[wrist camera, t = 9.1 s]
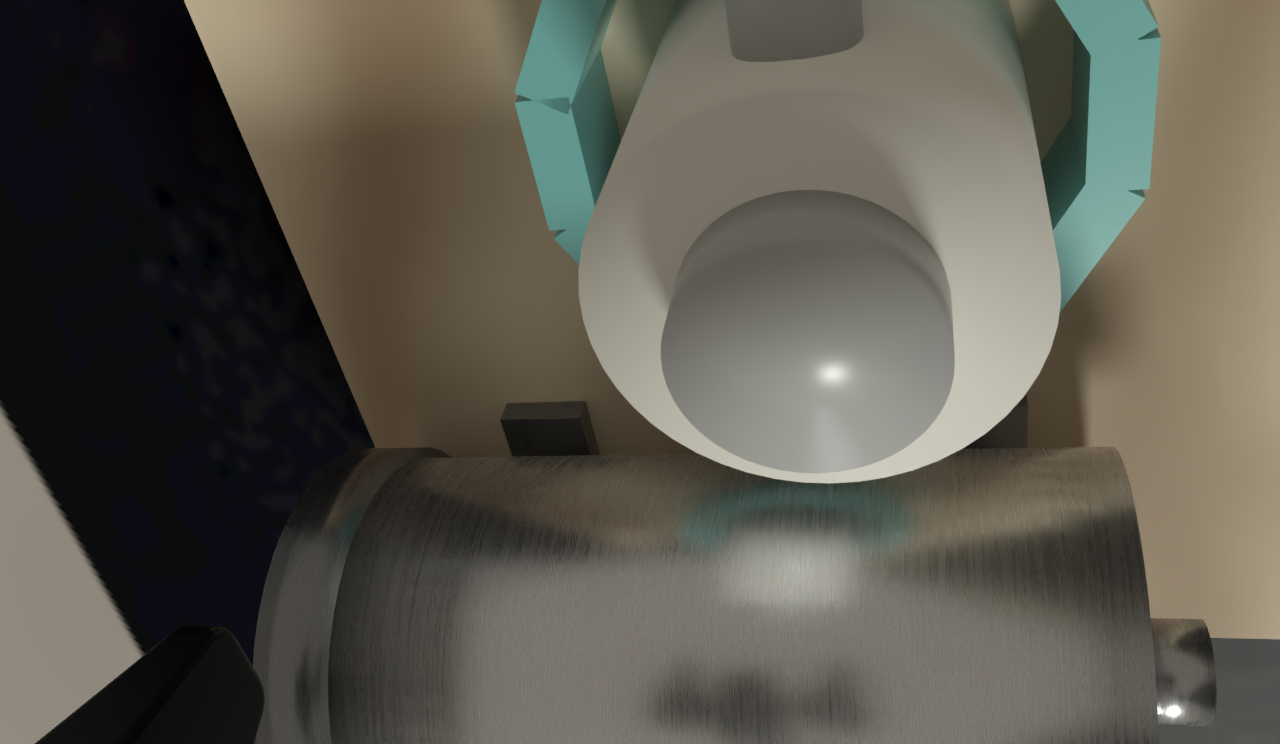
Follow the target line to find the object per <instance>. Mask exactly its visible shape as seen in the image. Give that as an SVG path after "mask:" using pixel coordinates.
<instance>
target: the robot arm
mask: <svg viewBox="0 0 1280 744" xmlns="http://www.w3.org/2000/svg"><path fill="white" fill-rule="evenodd" d="M264 704H265V694H264V688H263V684H262V682H261V680H260V678H259V676H258V674H257V673H256V671H255V670H254V668H253V666H252V665H251V663H250V661H249V660H248V658H247V656H246V655H245V653H244V651H243V650H242V648H241V646H240V645H239V643H238V641H237V640H236V638H235V636H234V635H233V634H232V633H231V632H230V631H229V630H228V629H226V628H224V627H219V626H186V627H182V628H180V629H178V630H176V631H174V632H173V633H171V634H170V635H169V636H167V637H166V638H165V639H164V640H162V641H161V642H160V643H159V644H158V645H156V646H155V647H154V648H153V649H151V650H150V651H149V652H148V653H146V654H145V655H144V656H143V657H141V658H140V659H139V660H138V661H137V662H135V663H134V664H133V665H132V666H130V667H129V668H128V669H127V670H125V671H124V672H123V673H122V674H120V675H119V676H118V677H117V678H115V679H114V680H113V681H112V682H111V683H109V684H108V685H107V686H106V687H104V688H103V689H102V690H101V691H99V692H98V693H97V694H96V695H94V696H93V697H92V698H91V699H90V700H88V701H87V702H86V703H85V704H83V705H82V706H81V707H80V708H79V709H77V710H76V711H75V712H74V713H72V714H71V715H70V716H68V717H67V718H66V719H65V720H64V721H62V722H61V723H60V724H59V725H57V726H56V727H55V728H54V729H52V730H51V731H50V732H49V733H47V734H46V735H45V736H44V737H42V738H41V739H40V740H39V741H38V742H36V743H35V744H255V742H256V738H257V734H258V731H259V727H260V723H261V720H262V716H263V711H264Z"/></svg>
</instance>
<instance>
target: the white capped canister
mask: <svg viewBox="0 0 1280 744" xmlns="http://www.w3.org/2000/svg"><path fill="white" fill-rule="evenodd" d="M578 282H579V300H580V306H581V311H582V317H583V322H584V325H585V328H586V331H587V334H588V337H589V340H590V343H591V345H592V347H593V349H594V351H595V353H596V355H597V357H598V359H599V361H600V363H601V365H602V367H603V369H604V370H605V372H606V373H607V375H608V376H609V378H610V379H611V381H612V382H613V384H614V385H615V387H616V388H617V389H618V390H619V391H620V392H621V394H622V395H623V396H624V397H625V398H626V399H627V401H628V402H629V403H630V404H631V405H632V406H633V407H634V408H635V409H636V410H637V411H638V412H639V413H640V414H641V415H643V416H644V417H645V418H646V419H647V420H648V421H649V422H650V423H651V424H653V425H654V426H655V427H657V428H658V429H659V430H661V431H662V432H664V433H665V434H666V435H668V436H669V437H671V438H672V439H673V440H675V441H677V442H678V443H680V444H682V445H684V446H685V447H687V448H689V449H691V450H692V451H694V452H696V453H698V454H700V455H702V456H705V457H707V458H709V459H711V460H714V461H716V462H718V463H720V464H723V465H726V466H729V467H732V468H735V469H738V470H741V471H744V472H747V473H751V474H756V475H760V476H764V477H769V478H773V479H780V480H787V481H795V482H803V483H847V482H860V481H867V480H873V479H880V478H886V477H890V476H893V475H897V474H901V473H905V472H909V471H913V470H915V469H918V468H921V467H923V466H926V465H929V464H931V463H934V462H937V461H939V460H941V459H943V458H945V457H947V456H949V455H951V454H953V453H955V452H957V451H959V450H961V449H963V448H965V447H966V446H968V445H969V444H971V443H972V442H974V441H975V440H977V439H978V438H980V437H981V436H983V435H984V434H986V433H987V432H988V431H989V430H990V429H992V428H993V427H994V426H995V425H996V424H998V423H999V422H1000V421H1001V420H1002V419H1003V418H1005V417H1006V416H1007V415H1008V414H1009V413H1010V411H1011V410H1012V409H1013V408H1014V407H1015V406H1016V405H1017V404H1018V403H1019V401H1020V400H1021V399H1022V398H1023V397H1024V396H1025V394H1026V393H1027V391H1028V390H1029V388H1030V387H1031V385H1032V384H1033V382H1034V381H1035V380H1036V378H1037V377H1038V375H1039V373H1040V371H1041V369H1042V367H1043V365H1044V363H1045V361H1046V359H1047V357H1048V354H1049V352H1050V350H1051V347H1052V343H1053V340H1054V337H1055V333H1056V330H1057V327H1058V320H1059V312H1060V304H1061V282H1060V268H1059V263H1058V257H1057V252H1056V246H1055V241H1054V235H1053V230H1052V224H1051V218H1050V213H1049V207H1048V202H1047V196H1046V191H1045V185H1044V180H1043V174H1042V168H1041V163H1040V157H1039V152H1038V146H1037V141H1036V135H1035V130H1034V124H1033V119H1032V113H1031V107H1030V102H1029V96H1028V91H1027V85H1026V80H1025V74H1024V69H1023V63H1022V57H1021V52H1020V46H1019V41H1018V36H1017V31H1016V26H1015V21H1014V17H1013V13H1012V11H1011V8H1010V5H1009V2H1008V0H678V1H677V3H676V5H675V8H674V10H673V12H672V15H671V17H670V20H669V22H668V25H667V27H666V30H665V32H664V35H663V37H662V40H661V42H660V45H659V47H658V50H657V52H656V55H655V57H654V60H653V62H652V65H651V67H650V70H649V72H648V75H647V77H646V80H645V82H644V85H643V87H642V90H641V92H640V95H639V98H638V100H637V103H636V105H635V108H634V110H633V113H632V115H631V118H630V120H629V123H628V125H627V128H626V130H625V133H624V135H623V138H622V140H621V143H620V145H619V148H618V150H617V153H616V155H615V158H614V160H613V163H612V165H611V168H610V170H609V173H608V175H607V178H606V180H605V183H604V185H603V188H602V190H601V193H600V195H599V198H598V200H597V203H596V205H595V208H594V210H593V213H592V215H591V218H590V220H589V223H588V227H587V230H586V233H585V237H584V240H583V243H582V247H581V255H580V262H579V270H578Z"/></svg>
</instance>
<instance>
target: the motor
mask: <svg viewBox="0 0 1280 744" xmlns="http://www.w3.org/2000/svg"><path fill="white" fill-rule="evenodd" d="M500 422H501V425H502V428H503V430H504V433H505V436H506V439H507V442H508V445H509V448H510V451H511V454H512V457H459V458H453V457H452V456H450V455H448V454H447V453H445V452H443V451H442V450H438V449H435V448H431V447H420V448H368V449H357V450H354V451H350V452H347V453H345V454H343V455H341V456H340V457H338V458H336V459H334V460H333V461H332V462H331V463H330V464H328V465H327V466H326V467H325V468H324V469H322V470H321V471H320V472H319V474H318V475H317V476H316V477H315V478H314V479H313V481H312V482H311V483H310V484H309V485H308V487H307V488H306V490H305V491H304V493H303V494H302V496H301V497H300V499H299V500H298V502H297V503H296V505H295V507H294V509H293V511H292V513H291V515H290V517H289V519H288V521H287V523H286V525H285V527H284V529H283V532H282V534H281V537H280V539H279V542H278V544H277V547H276V549H275V552H274V555H273V558H272V562H271V565H270V568H269V571H268V575H267V578H266V582H265V586H264V591H263V595H262V600H261V604H260V609H259V615H258V622H257V629H256V636H255V645H254V658H253V668H254V670H255V671H256V673H257V674H258V676H259V678H260V680H261V682H262V684H263V688H264V694H265V704H264V711H263V716H262V720H261V723H260V727H259V731H258V734H257V738H256V744H1159V730H1158V724H1175V725H1200V726H1211V725H1212V724H1213V722H1214V718H1215V712H1216V673H1215V662H1214V655H1213V649H1212V643H1211V639H1210V635H1209V631H1208V628H1207V625H1206V623H1205V622H1204V620H1203V619H1173V618H1151V617H1150V607H1149V597H1148V589H1147V581H1146V573H1145V565H1144V558H1143V551H1142V544H1141V538H1140V531H1139V526H1138V520H1137V515H1136V509H1135V504H1134V500H1133V495H1132V490H1131V486H1130V483H1129V479H1128V475H1127V471H1126V469H1125V466H1124V463H1123V460H1122V458H1121V456H1120V454H1119V452H1118V450H1117V449H1116V448H1115V447H1054V448H1027V440H1028V404H1027V394H1025V396H1024V397H1023V398H1022V399H1021V400H1020V401H1019V403H1018V404H1017V405H1016V406H1015V407H1014V408H1013V409H1012V410H1011V411H1010V413H1009V414H1008V415H1007V416H1006V417H1005V418H1003V419H1002V420H1001V421H1000V422H999V423H998V424H996V425H995V426H994V427H993V428H992V429H990V430H989V431H988V432H987V433H986V434H984V435H983V436H981V437H980V438H978V439H977V440H975V441H974V442H972V443H971V444H969V445H968V446H966V447H965V448H963V449H961V450H959V451H957V452H955V453H953V454H951V455H949V456H947V457H945V458H943V459H941V460H939V461H937V462H934V463H931V464H929V465H926V466H923V467H921V468H918V469H915V470H913V471H909V472H905V473H901V474H897V475H893V476H890V477H886V478H880V479H873V480H867V481H860V482H847V483H803V482H795V481H787V480H780V479H773V478H769V477H764V476H760V475H756V474H751V473H747V472H744V471H741V470H738V469H735V468H732V467H729V466H726V465H723V464H720V463H718V462H716V461H714V460H711V459H709V458H707V457H705V456H702V455H700V454H698V453H697V454H638V455H600V451H599V448H598V444H597V441H596V437H595V433H594V430H593V426H592V423H591V419H590V415H589V412H588V408H587V405H586V401H566V402H532V403H507V404H506V407H505V409H504V412H503V414H502V416H501V419H500Z"/></svg>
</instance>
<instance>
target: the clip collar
mask: <svg viewBox="0 0 1280 744" xmlns="http://www.w3.org/2000/svg"><path fill="white" fill-rule="evenodd" d="M1055 1H1056V3H1057V4H1058V6H1059V7H1060V9H1061V10H1062V12H1063V13H1064V15H1065V16H1066V18H1067V20H1068V21H1069V23H1070V24H1071V26H1072V27H1073V29H1074V41H1073V73H1072V104H1071V117H1070V119H1069V120H1068V122H1067V123H1066V125H1065V126H1064V128H1063V129H1062V131H1061V132H1060V134H1059V135H1058V137H1057V138H1056V140H1055V141H1054V143H1053V144H1052V146H1051V147H1050V149H1049V150H1048V152H1047V153H1046V155H1045V156H1044V158H1043V159H1042V161H1041V162H1040V163H1041V168H1042V174H1043V180H1044V185H1045V191H1046V196H1047V202H1048V207H1049V213H1050V218H1051V224H1052V230H1053V235H1054V241H1055V246H1056V252H1057V257H1058V263H1059V268H1060V282H1061V304H1060V312H1061V310H1062V309H1063V308H1064V306H1065V305H1066V304H1067V302H1068V301H1069V300H1070V298H1071V297H1072V296H1073V294H1074V293H1075V292H1076V290H1077V289H1078V288H1079V286H1080V285H1081V284H1082V282H1083V281H1084V280H1085V278H1086V277H1087V276H1088V274H1089V273H1090V272H1091V270H1092V269H1093V268H1094V266H1095V265H1096V264H1097V262H1098V261H1099V260H1100V258H1101V257H1102V256H1103V254H1104V253H1105V252H1106V250H1107V249H1108V248H1109V246H1110V245H1111V244H1112V242H1113V241H1114V240H1115V238H1116V237H1117V236H1118V235H1119V233H1120V232H1121V231H1122V229H1123V228H1124V227H1125V225H1126V224H1127V223H1128V221H1129V220H1130V219H1131V217H1132V216H1133V215H1134V213H1135V212H1136V211H1137V209H1138V208H1139V207H1140V205H1141V204H1142V203H1143V201H1144V200H1145V199H1146V198H1145V194H1144V191H1143V189H1149V188H1150V175H1151V162H1152V149H1153V137H1154V124H1155V111H1156V98H1157V85H1158V72H1159V59H1160V47H1161V36H1160V33H1159V31H1158V27H1159V26H1158V24H1157V21H1156V19H1155V16H1154V13H1153V11H1152V8H1151V6H1150V3H1149V1H1148V0H1055ZM616 2H617V0H542V2H541V5H540V8H539V12H538V15H537V18H536V22H535V25H534V29H533V32H532V35H531V39H530V42H529V45H528V49H527V52H526V55H525V59H524V62H523V66H522V69H521V72H520V76H519V79H518V82H517V86H516V89H515V93H516V94H518V95H519V96H518V97H517V99H516V101H515V102H514V103H515V107H516V110H517V114H518V118H519V121H520V125H521V129H522V132H523V136H524V140H525V143H526V147H527V151H528V154H529V158H530V162H531V165H532V169H533V173H534V177H535V180H536V184H537V188H538V191H539V195H540V199H541V202H542V206H543V210H544V213H545V217H546V221H547V224H548V228H549V231H551V230H557V232H556V234H555V237H554V239H555V240H556V241H557V242H558V243H559V244H560V246H561V247H562V248H563V249H564V250H565V251H566V252H567V253H568V254H569V255H570V256H571V257H572V258H573V259H574V260H575V261H576V262H577V263H578V264H579V262H580V255H581V247H582V243H583V240H584V237H585V233H586V230H587V227H588V223H589V220H590V218H591V215H592V213H593V210H594V208H595V205H596V203H597V200H598V198H599V195H600V193H601V190H602V188H603V185H604V183H605V180H606V178H607V175H608V173H609V170H610V168H611V165H612V163H613V160H614V158H615V155H616V153H617V150H618V148H619V145H620V143H621V138H620V133H619V129H618V124H617V120H616V115H615V110H614V106H613V101H612V97H611V92H610V87H609V83H608V78H607V74H606V69H605V65H604V60H603V55H602V51H601V46H602V43H603V40H604V37H605V34H606V31H607V28H608V25H609V22H610V19H611V16H612V13H613V11H614V8H615V5H616ZM1060 312H1059V313H1060Z"/></svg>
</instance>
